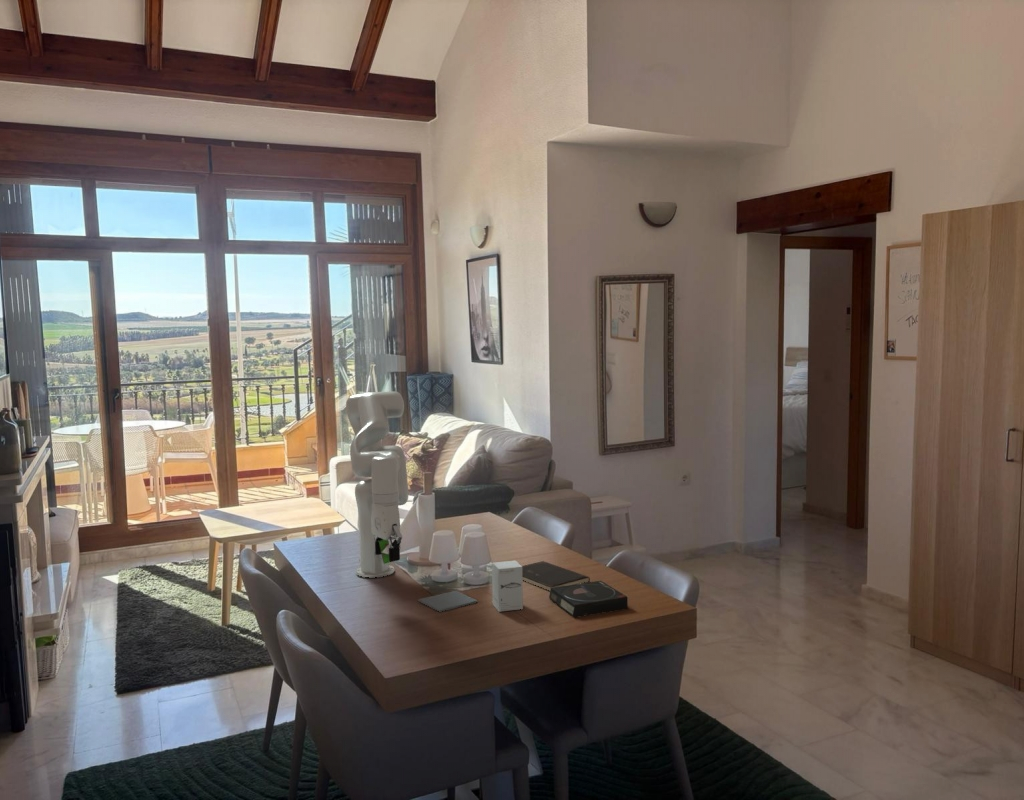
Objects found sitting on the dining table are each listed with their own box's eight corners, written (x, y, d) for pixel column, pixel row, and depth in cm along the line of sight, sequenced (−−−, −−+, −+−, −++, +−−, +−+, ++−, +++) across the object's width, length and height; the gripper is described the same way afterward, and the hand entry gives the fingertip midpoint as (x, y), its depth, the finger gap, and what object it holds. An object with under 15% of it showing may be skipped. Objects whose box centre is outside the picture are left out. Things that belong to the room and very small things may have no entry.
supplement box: (498, 612, 225) (497, 568, 224) (492, 604, 232) (491, 561, 231) (523, 609, 227) (522, 566, 226) (516, 601, 234) (515, 559, 233)
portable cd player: (549, 601, 235) (548, 588, 234) (601, 593, 241) (600, 580, 240) (572, 619, 219) (572, 605, 219) (627, 610, 225) (627, 596, 225)
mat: (418, 601, 236) (418, 599, 236) (455, 592, 244) (455, 590, 243) (439, 612, 226) (439, 610, 226) (477, 602, 234) (477, 600, 234)
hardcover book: (550, 593, 242) (550, 586, 242) (506, 576, 260) (506, 569, 260) (590, 583, 251) (589, 576, 251) (544, 567, 270) (544, 560, 270)
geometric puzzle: (367, 553, 233) (375, 535, 229) (386, 548, 238) (395, 530, 234) (379, 571, 229) (388, 553, 225) (398, 566, 234) (407, 548, 230)
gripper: (360, 495, 235) (362, 553, 237) (387, 505, 221) (390, 567, 223) (383, 491, 239) (385, 548, 241) (411, 501, 225) (413, 561, 227)
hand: (387, 557), depth 232 cm, fingers closed on geometric puzzle, 8 cm apart
